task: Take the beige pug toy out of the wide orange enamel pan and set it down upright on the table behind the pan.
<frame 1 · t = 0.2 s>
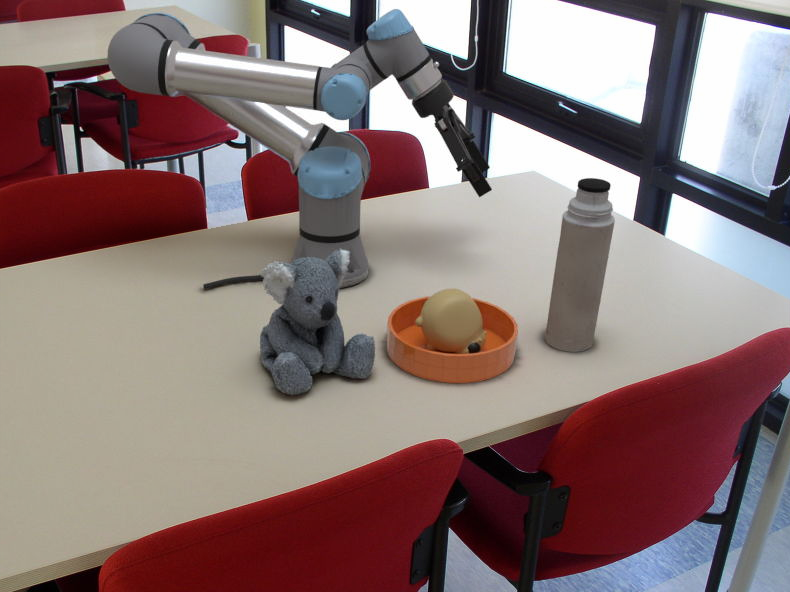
hand: (484, 181, 178), 15 cm above the table, tool tilted 35°, fingers open, 13 cm apart
koala plush: (307, 365, 148), on the table
beige pug toy: (450, 349, 152), resting on pan
pan: (450, 350, 152), on the table
thermos bottle: (568, 341, 154), on the table
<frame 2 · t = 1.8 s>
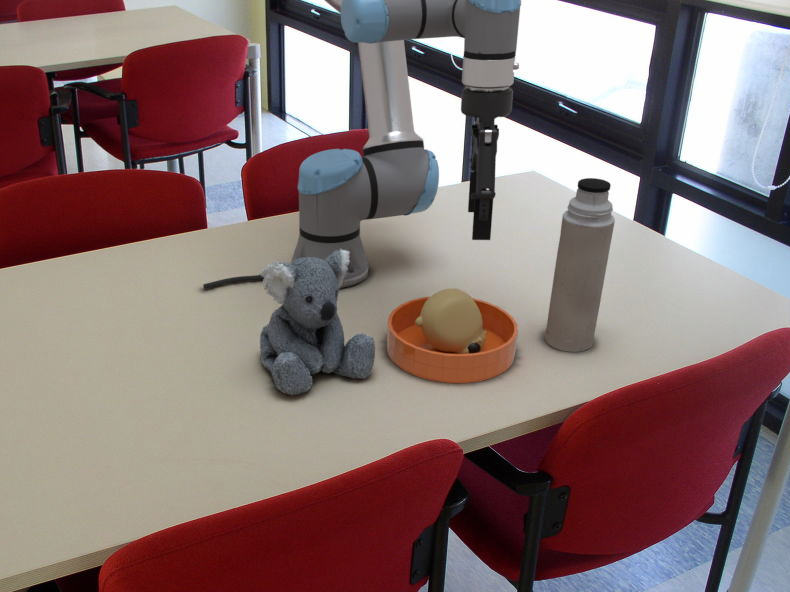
hand: (478, 225, 144), 21 cm above the table, tool pointing down, fingers open, 13 cm apart
nothing on the table moved.
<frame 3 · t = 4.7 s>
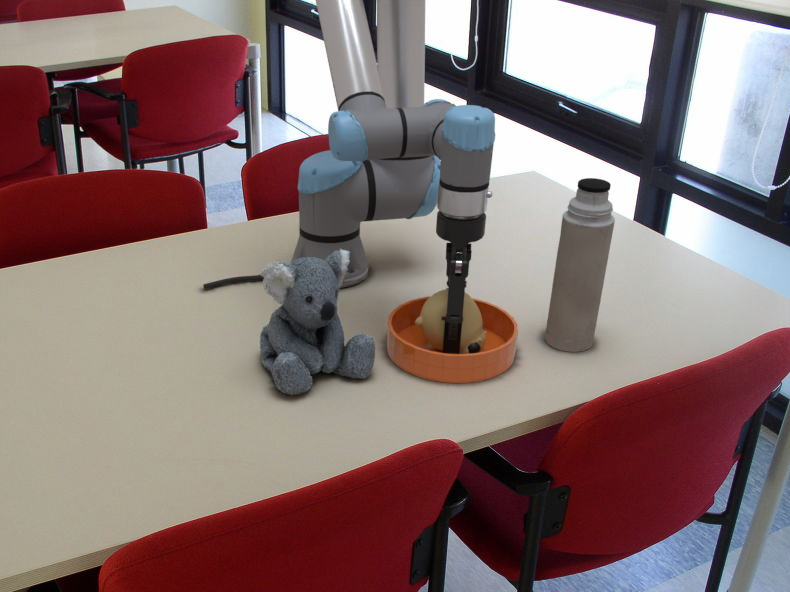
hand: (451, 338, 151), 2 cm above the table, tool pointing down, fingers closed on beige pug toy, 10 cm apart
beige pug toy: (450, 349, 152), resting on pan, touching gripper
everything else where it was.
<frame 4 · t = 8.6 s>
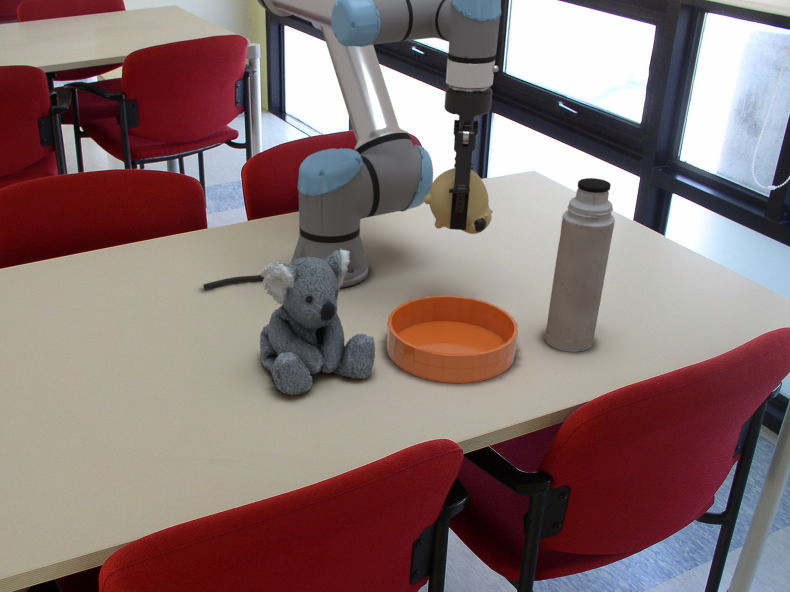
hand: (458, 217, 157), 17 cm above the table, tool pointing down, fingers closed on beige pug toy, 10 cm apart
beige pug toy: (457, 228, 158), point 15 cm above the table, touching gripper
everything else where it was.
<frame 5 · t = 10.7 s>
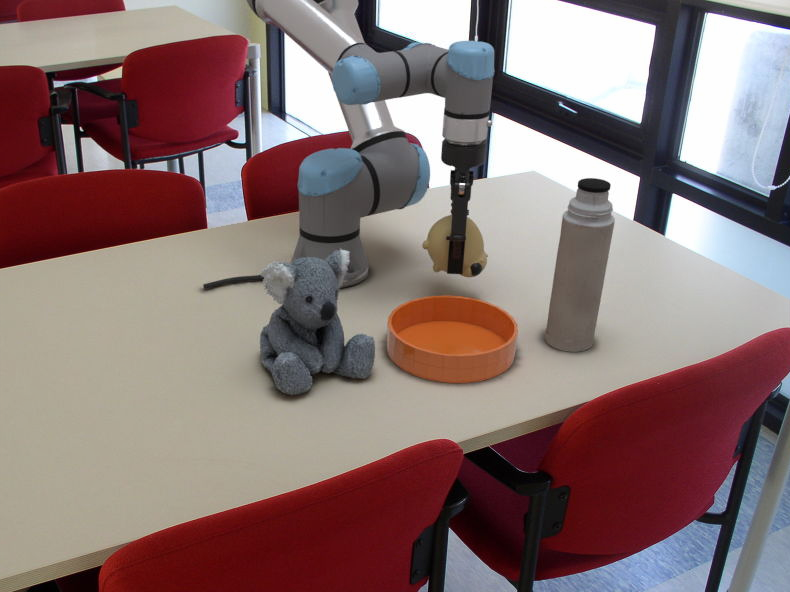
hand: (455, 261, 165), 7 cm above the table, tool pointing down, fingers closed on beige pug toy, 10 cm apart
beige pug toy: (454, 271, 165), point 5 cm above the table, touching gripper
everything else where it was.
when the fingers open (2 cm above the table, at t = 12.6 s): beige pug toy stays where it is, on the table.
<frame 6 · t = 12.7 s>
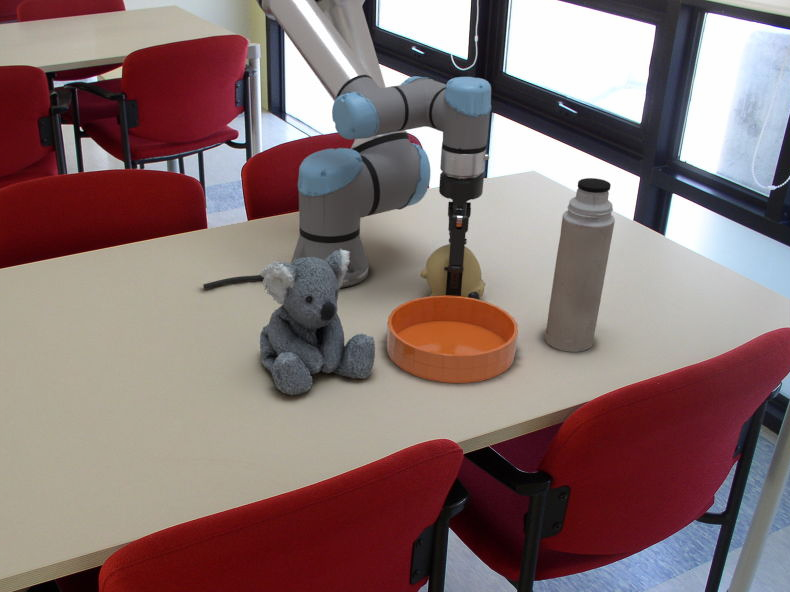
hand: (452, 289, 168), 2 cm above the table, tool pointing down, fingers open, 10 cm apart
beige pug toy: (452, 299, 168), on the table
everything else where it was.
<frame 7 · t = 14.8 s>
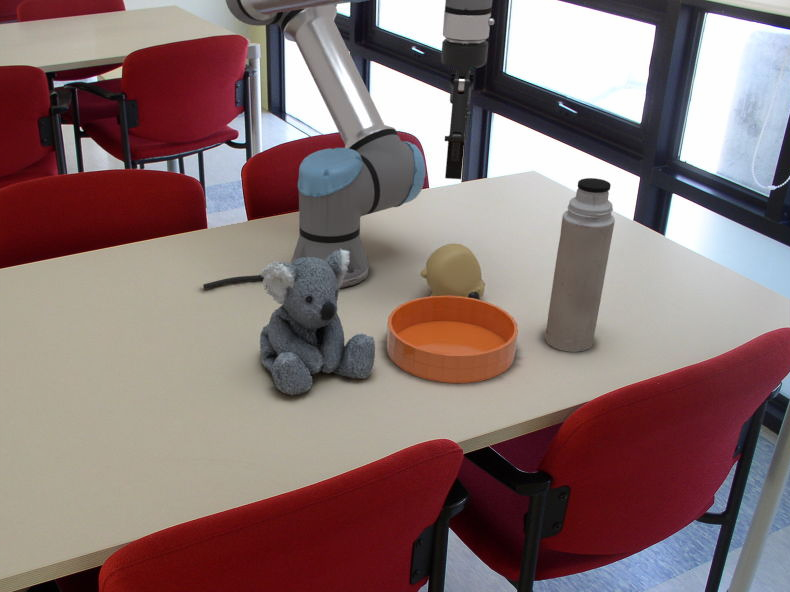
hand: (454, 165, 160), 24 cm above the table, tool pointing down, fingers open, 13 cm apart
nothing on the table moved.
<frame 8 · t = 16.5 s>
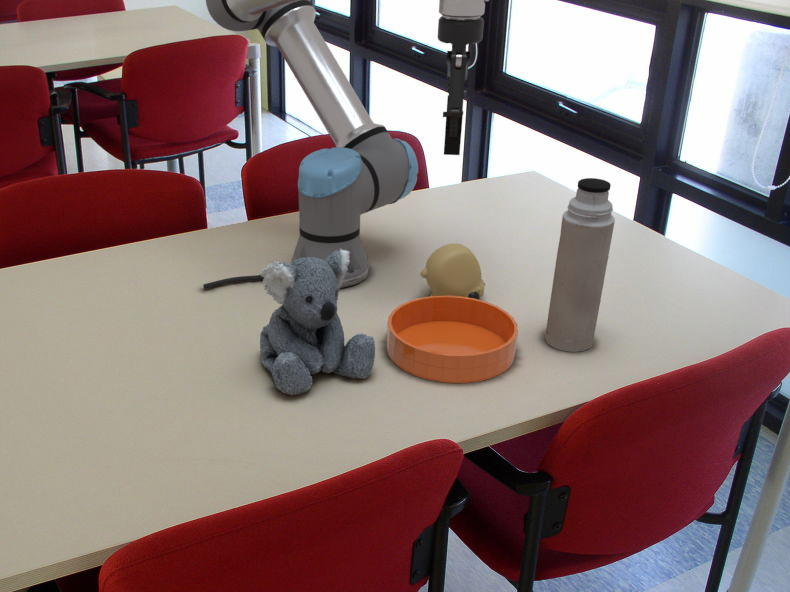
hand: (452, 142, 162), 27 cm above the table, tool pointing down, fingers open, 13 cm apart
nothing on the table moved.
at the end: beige pug toy inside the target area (0.2 cm from its centre), on the table; beige pug toy tilted 0°; the gripper is holding nothing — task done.
